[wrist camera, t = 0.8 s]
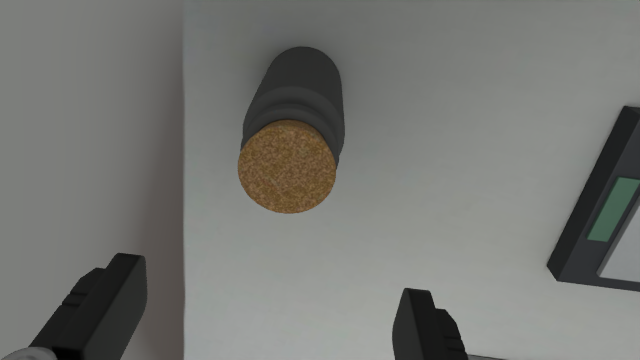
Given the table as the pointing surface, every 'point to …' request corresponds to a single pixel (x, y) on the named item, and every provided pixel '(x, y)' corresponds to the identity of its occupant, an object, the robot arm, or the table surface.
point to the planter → (479, 358)
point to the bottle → (293, 133)
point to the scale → (606, 217)
